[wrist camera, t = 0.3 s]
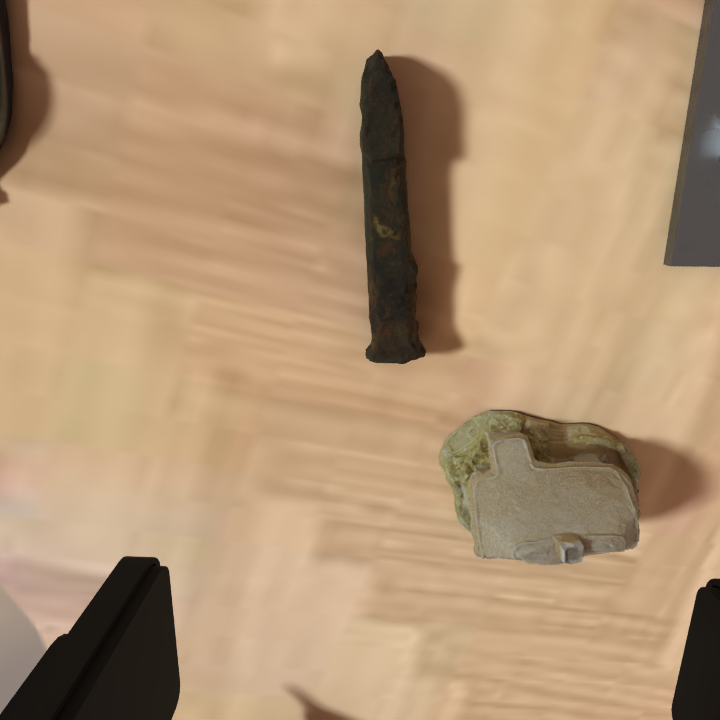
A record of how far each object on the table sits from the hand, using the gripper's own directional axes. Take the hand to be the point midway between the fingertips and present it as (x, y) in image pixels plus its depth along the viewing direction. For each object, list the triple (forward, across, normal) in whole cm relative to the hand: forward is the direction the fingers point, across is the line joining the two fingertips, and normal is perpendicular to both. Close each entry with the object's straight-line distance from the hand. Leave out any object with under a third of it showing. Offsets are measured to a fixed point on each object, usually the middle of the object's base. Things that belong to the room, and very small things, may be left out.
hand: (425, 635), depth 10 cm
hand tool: (+31, +1, -6) cm, 32 cm away
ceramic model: (+31, -11, +13) cm, 35 cm away
